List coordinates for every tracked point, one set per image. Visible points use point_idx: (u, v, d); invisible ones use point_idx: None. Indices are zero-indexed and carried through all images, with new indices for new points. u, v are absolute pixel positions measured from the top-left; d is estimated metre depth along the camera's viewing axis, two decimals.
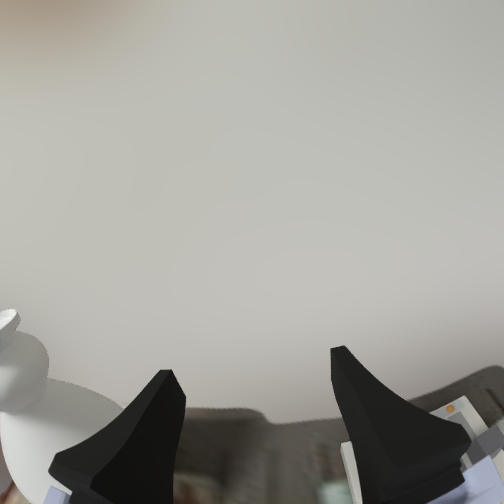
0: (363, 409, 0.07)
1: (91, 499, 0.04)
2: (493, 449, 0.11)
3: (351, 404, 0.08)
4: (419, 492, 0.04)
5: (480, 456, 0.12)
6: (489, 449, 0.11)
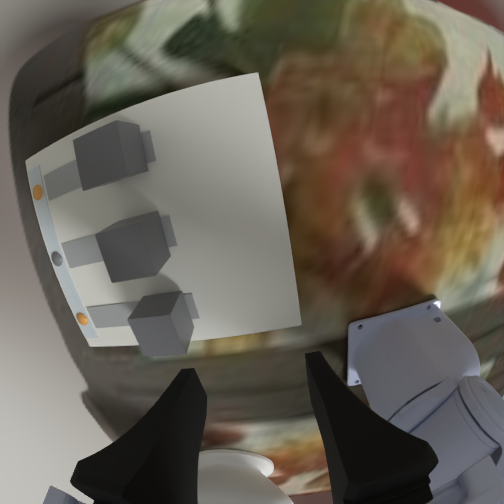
0: (328, 418, 0.07)
1: None
2: (118, 157, 0.12)
3: (321, 411, 0.08)
4: None
5: (122, 177, 0.13)
6: (114, 167, 0.12)
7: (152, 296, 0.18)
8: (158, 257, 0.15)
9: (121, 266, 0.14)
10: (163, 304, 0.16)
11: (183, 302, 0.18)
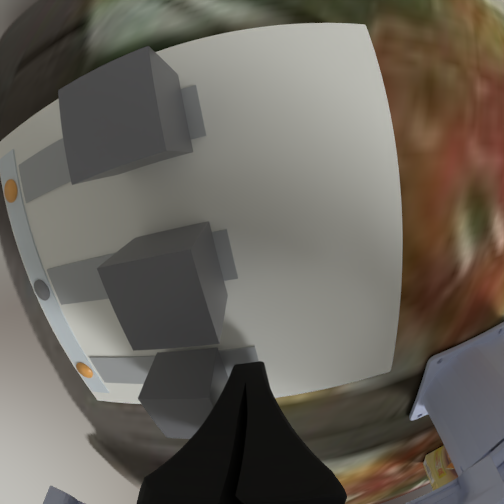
0: (247, 430, 0.07)
1: None
2: (146, 115, 0.06)
3: None
4: None
5: (151, 159, 0.07)
6: (137, 134, 0.06)
7: (171, 354, 0.11)
8: (218, 307, 0.09)
9: (151, 325, 0.08)
10: (193, 374, 0.10)
11: (220, 364, 0.11)
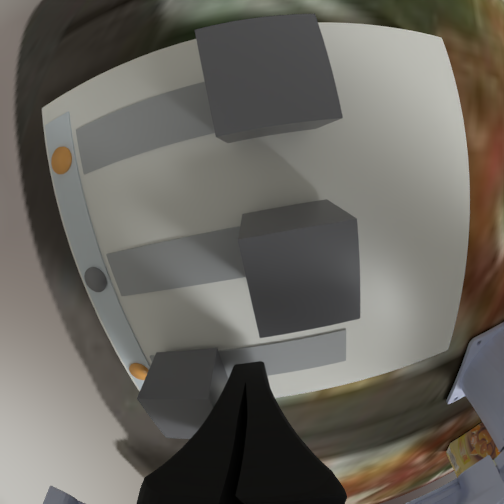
0: (247, 430, 0.07)
1: None
2: (321, 78, 0.05)
3: None
4: None
5: (303, 125, 0.07)
6: (311, 95, 0.05)
7: (171, 354, 0.11)
8: None
9: (293, 305, 0.07)
10: (193, 374, 0.10)
11: (220, 364, 0.11)
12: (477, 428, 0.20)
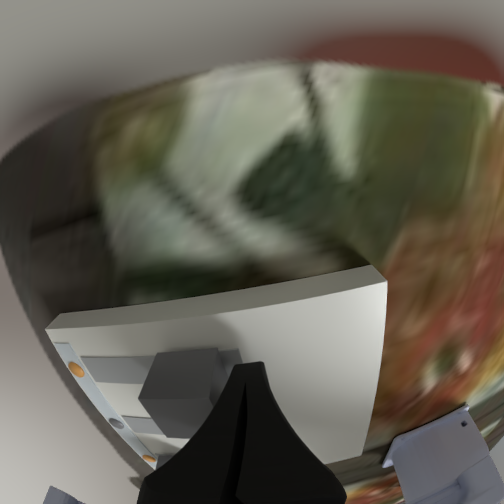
0: (247, 430, 0.07)
1: None
2: None
3: None
4: None
5: None
6: None
7: (167, 458, 0.15)
8: None
9: None
10: None
11: None
12: None
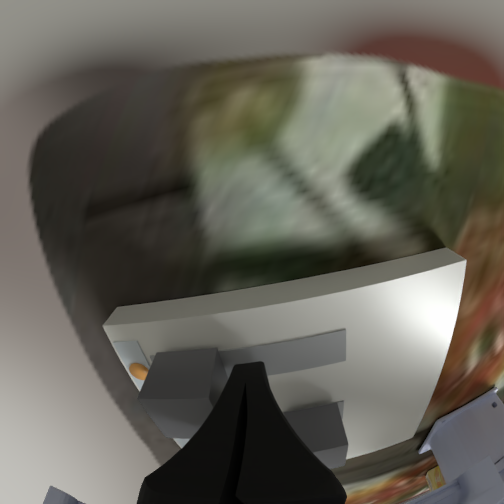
0: (247, 430, 0.07)
1: None
2: None
3: None
4: None
5: None
6: None
7: None
8: None
9: None
10: None
11: None
12: None
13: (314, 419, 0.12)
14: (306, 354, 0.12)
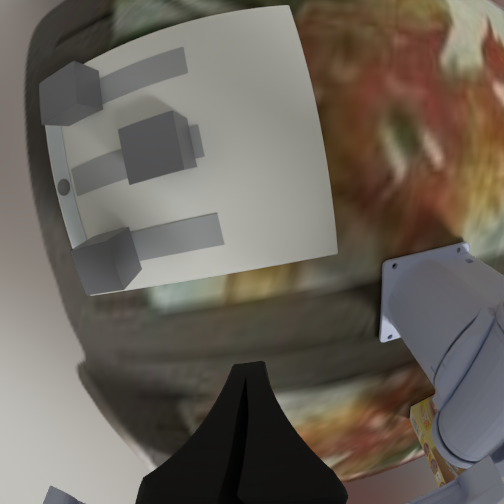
0: (248, 430, 0.07)
1: None
2: (71, 90, 0.10)
3: None
4: None
5: (76, 111, 0.12)
6: (67, 98, 0.10)
7: (101, 234, 0.16)
8: (186, 156, 0.13)
9: (144, 161, 0.12)
10: (106, 236, 0.15)
11: (129, 238, 0.16)
12: None
13: None
14: (155, 68, 0.13)
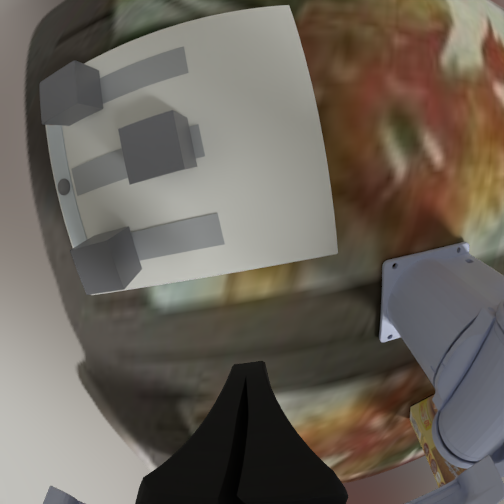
0: (248, 430, 0.07)
1: None
2: (72, 90, 0.10)
3: None
4: None
5: (76, 110, 0.12)
6: (68, 98, 0.10)
7: (101, 233, 0.16)
8: (187, 155, 0.13)
9: (144, 161, 0.12)
10: (106, 236, 0.15)
11: (129, 238, 0.16)
12: None
13: None
14: (156, 68, 0.13)
